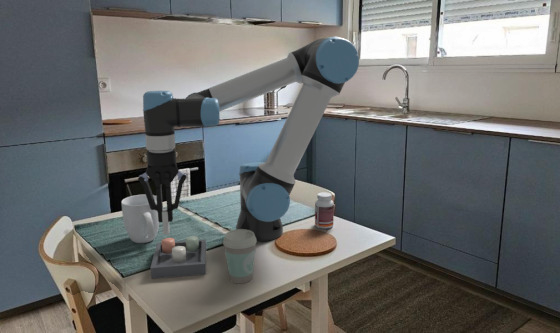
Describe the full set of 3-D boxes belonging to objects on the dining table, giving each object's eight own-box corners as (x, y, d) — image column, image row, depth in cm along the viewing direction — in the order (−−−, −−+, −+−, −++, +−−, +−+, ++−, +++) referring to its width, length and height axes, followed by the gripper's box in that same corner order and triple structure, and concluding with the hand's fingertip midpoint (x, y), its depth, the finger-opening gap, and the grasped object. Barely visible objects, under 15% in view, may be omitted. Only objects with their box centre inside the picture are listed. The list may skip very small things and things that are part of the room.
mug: (171, 245, 135) (168, 204, 132) (134, 254, 129) (130, 212, 126) (155, 229, 147) (152, 192, 144) (121, 237, 141) (116, 198, 138)
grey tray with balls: (206, 248, 133) (205, 239, 132) (206, 274, 117) (205, 263, 117) (157, 252, 131) (157, 242, 130) (151, 278, 115) (150, 268, 115)
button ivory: (186, 256, 122) (185, 245, 122) (185, 262, 119) (185, 251, 118) (173, 257, 122) (172, 246, 121) (172, 263, 118) (171, 252, 118)
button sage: (199, 246, 129) (198, 235, 128) (198, 251, 125) (198, 240, 125) (186, 246, 128) (185, 236, 127) (185, 252, 125) (185, 241, 124)
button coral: (175, 247, 128) (175, 237, 127) (174, 253, 124) (174, 242, 124) (162, 248, 127) (162, 238, 127) (161, 254, 124) (160, 243, 123)
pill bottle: (337, 225, 149) (338, 194, 147) (325, 230, 145) (325, 198, 143) (323, 220, 154) (323, 190, 151) (311, 225, 150) (311, 194, 147)
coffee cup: (244, 289, 110) (243, 244, 107) (217, 280, 114) (215, 237, 111) (264, 275, 117) (263, 232, 114) (237, 267, 121) (236, 225, 118)
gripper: (186, 146, 123) (190, 226, 129) (137, 147, 121) (144, 228, 127) (185, 151, 116) (189, 236, 122) (133, 153, 114) (140, 239, 120)
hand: (166, 232), depth 124 cm, fingers closed
